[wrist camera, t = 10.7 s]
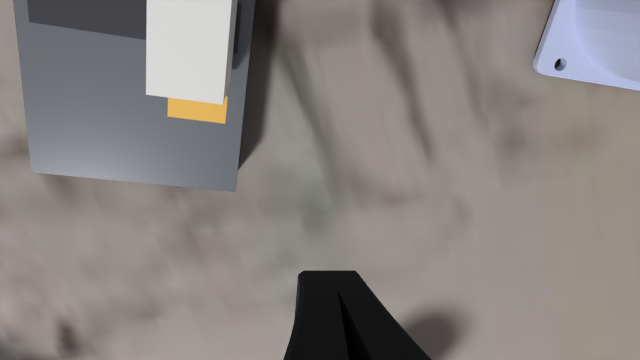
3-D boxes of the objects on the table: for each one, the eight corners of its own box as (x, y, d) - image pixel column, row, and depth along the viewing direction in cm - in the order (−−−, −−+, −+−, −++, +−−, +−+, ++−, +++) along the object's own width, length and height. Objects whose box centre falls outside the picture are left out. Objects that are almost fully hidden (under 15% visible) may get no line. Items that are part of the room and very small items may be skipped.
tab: (239, -24, 13) (233, -24, 11) (230, 79, 15) (222, 104, 12) (172, -37, 13) (147, -40, 10) (168, 70, 14) (145, 94, 12)
